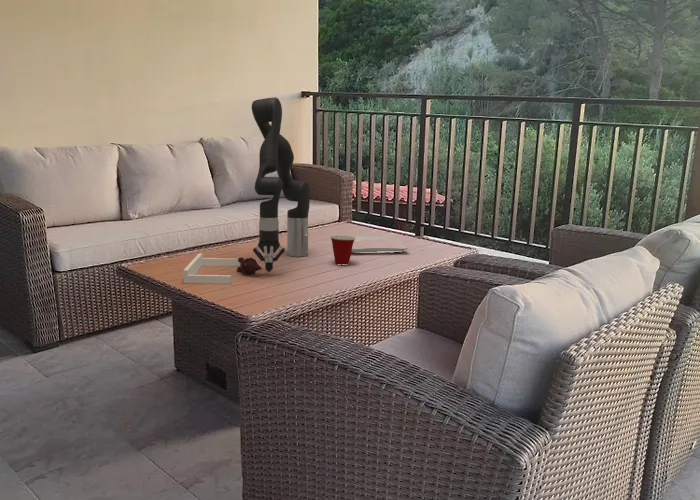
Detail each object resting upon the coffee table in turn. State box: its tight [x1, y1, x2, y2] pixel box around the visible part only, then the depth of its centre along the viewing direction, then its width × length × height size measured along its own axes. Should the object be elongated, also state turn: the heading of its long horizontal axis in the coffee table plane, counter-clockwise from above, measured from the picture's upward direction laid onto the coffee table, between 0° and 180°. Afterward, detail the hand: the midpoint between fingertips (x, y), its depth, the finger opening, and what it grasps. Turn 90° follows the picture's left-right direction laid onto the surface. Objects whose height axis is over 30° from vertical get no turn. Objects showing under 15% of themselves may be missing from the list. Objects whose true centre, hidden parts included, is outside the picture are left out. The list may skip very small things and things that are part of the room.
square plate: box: [351, 235, 409, 253], centre depth 300 cm, size 27×27×4 cm
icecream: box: [236, 256, 263, 276], centre depth 250 cm, size 7×7×15 cm
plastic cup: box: [329, 234, 356, 266], centre depth 269 cm, size 11×11×12 cm
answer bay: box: [183, 252, 241, 285], centre depth 249 cm, size 18×27×5 cm, turn 1°
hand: (269, 271), depth 250 cm, fingers closed
